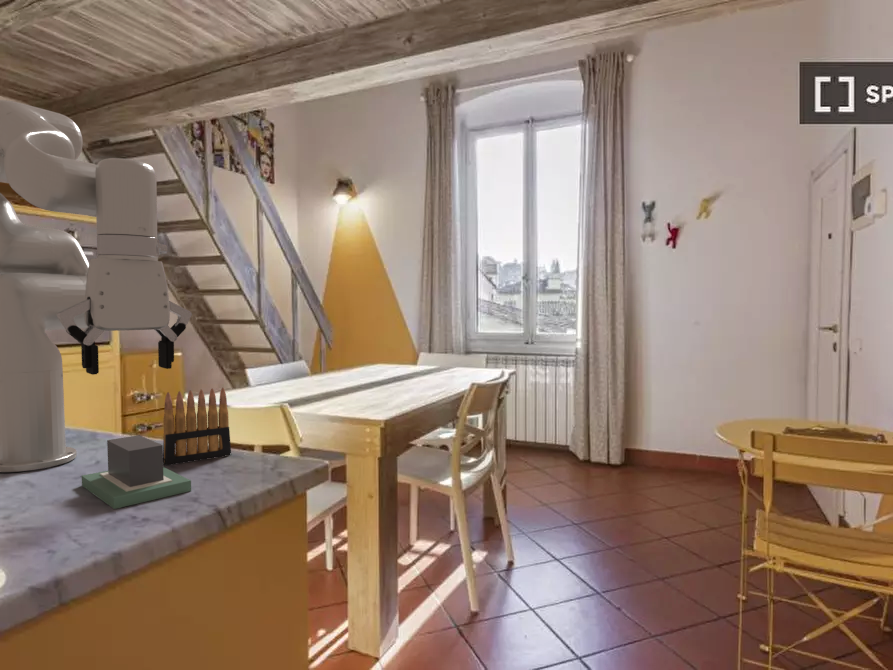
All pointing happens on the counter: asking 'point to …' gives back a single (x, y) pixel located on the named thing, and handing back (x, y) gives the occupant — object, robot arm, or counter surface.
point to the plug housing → (135, 460)
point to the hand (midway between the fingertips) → (130, 370)
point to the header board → (134, 488)
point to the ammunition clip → (195, 429)
